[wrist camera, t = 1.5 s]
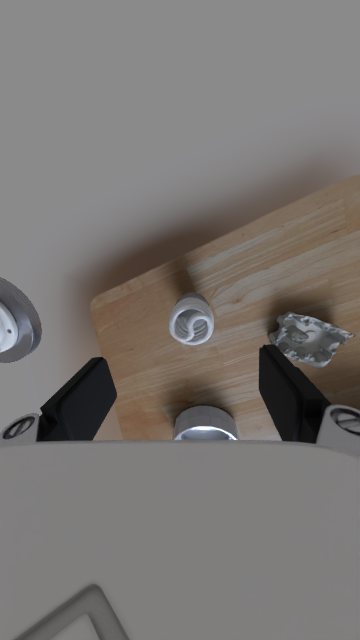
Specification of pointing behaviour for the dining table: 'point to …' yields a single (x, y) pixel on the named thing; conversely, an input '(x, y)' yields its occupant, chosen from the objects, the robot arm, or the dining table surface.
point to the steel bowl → (204, 425)
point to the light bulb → (191, 319)
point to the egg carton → (308, 339)
